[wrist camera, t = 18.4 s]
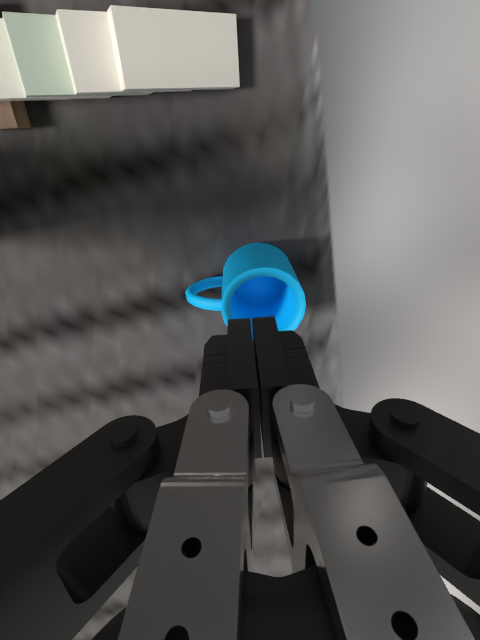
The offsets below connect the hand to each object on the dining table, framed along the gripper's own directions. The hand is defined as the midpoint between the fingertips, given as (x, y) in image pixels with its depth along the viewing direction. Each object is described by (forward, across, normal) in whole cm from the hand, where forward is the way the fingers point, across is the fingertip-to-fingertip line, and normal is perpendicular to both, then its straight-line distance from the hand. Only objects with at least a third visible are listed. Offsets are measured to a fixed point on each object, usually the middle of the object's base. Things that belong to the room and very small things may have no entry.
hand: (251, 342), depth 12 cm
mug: (+29, 0, +9) cm, 31 cm away
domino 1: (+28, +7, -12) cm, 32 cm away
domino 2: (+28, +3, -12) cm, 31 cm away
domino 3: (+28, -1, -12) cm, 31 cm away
